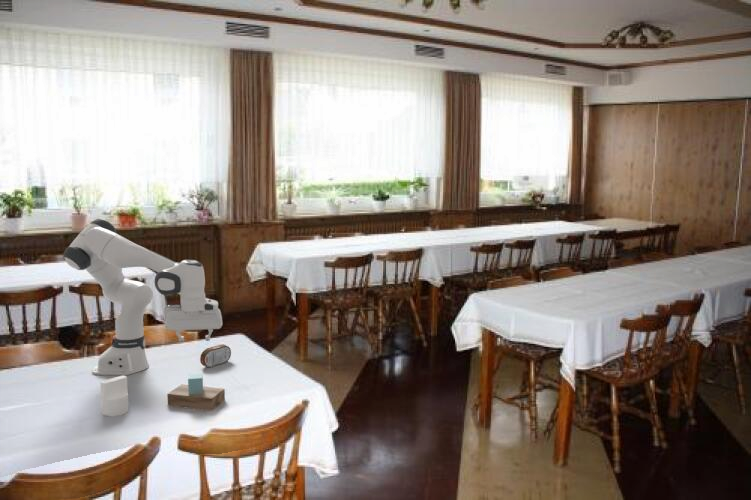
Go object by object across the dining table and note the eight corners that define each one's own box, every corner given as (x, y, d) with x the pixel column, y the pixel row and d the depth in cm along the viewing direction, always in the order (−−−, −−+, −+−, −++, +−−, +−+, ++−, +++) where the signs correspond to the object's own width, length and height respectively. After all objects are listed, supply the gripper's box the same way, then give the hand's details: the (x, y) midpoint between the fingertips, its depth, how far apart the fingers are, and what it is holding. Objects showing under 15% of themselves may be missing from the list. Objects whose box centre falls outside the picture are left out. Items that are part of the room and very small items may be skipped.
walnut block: (212, 411, 229) (211, 398, 228) (167, 406, 233) (167, 393, 232) (224, 401, 238) (224, 388, 238) (182, 396, 243) (181, 384, 242)
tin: (228, 360, 285) (227, 342, 284) (232, 361, 283) (232, 343, 282) (199, 368, 273) (199, 349, 272) (204, 370, 271) (203, 351, 270)
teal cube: (188, 394, 232) (188, 379, 231) (189, 389, 236) (188, 374, 235) (202, 393, 233) (202, 378, 232) (203, 388, 238) (202, 373, 237)
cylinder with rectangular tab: (120, 404, 234) (119, 373, 232) (133, 410, 228) (131, 378, 226) (97, 411, 227) (95, 379, 225) (109, 418, 221) (107, 385, 220)
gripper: (162, 307, 225) (163, 344, 227) (220, 305, 228) (221, 342, 230) (165, 303, 231) (167, 339, 234) (222, 301, 234) (223, 337, 237)
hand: (194, 340), depth 232 cm, fingers open, 8 cm apart
